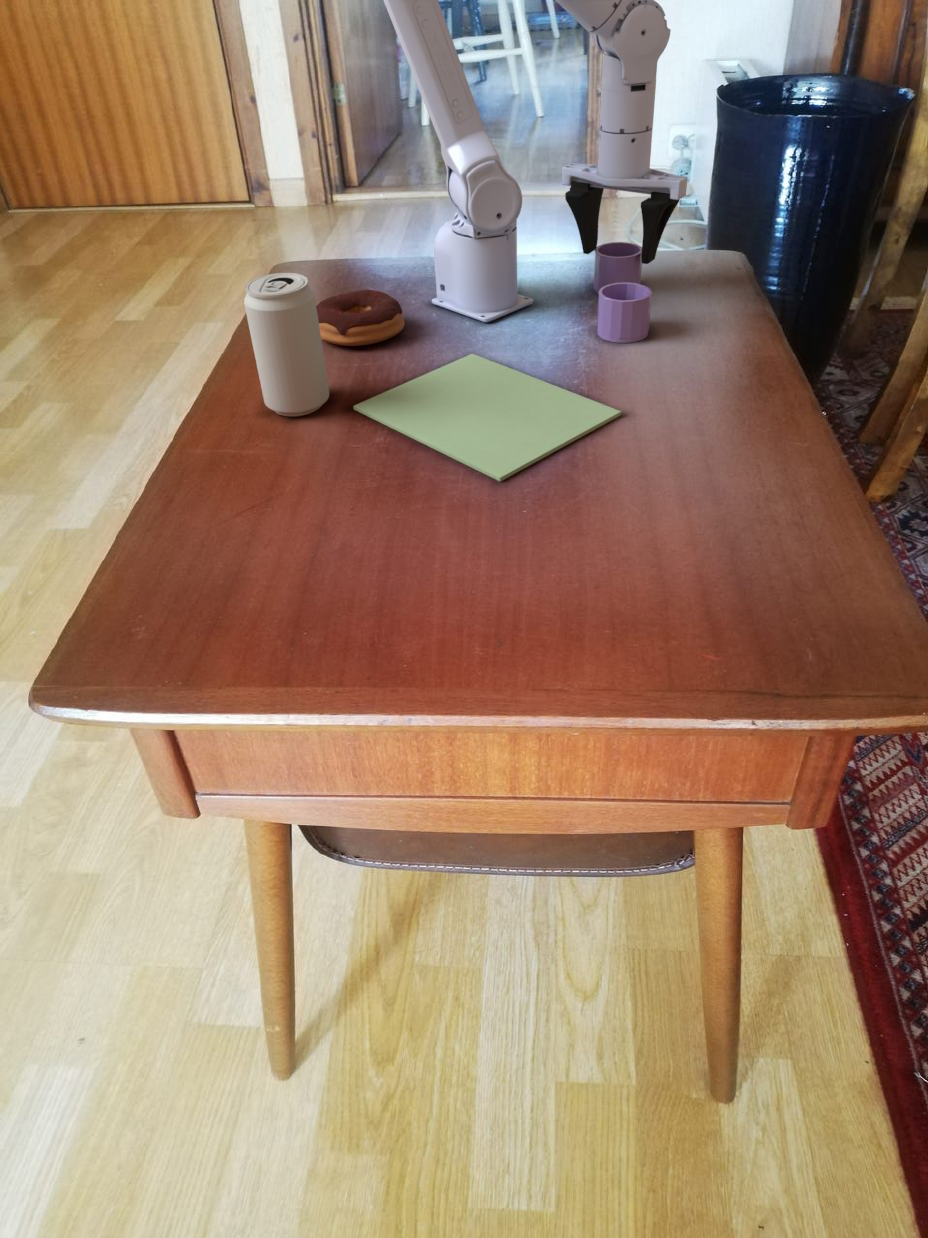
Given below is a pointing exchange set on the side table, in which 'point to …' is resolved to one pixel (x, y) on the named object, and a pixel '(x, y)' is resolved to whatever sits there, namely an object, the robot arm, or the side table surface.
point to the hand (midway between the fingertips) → (618, 256)
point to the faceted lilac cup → (623, 312)
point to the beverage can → (287, 343)
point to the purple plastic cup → (617, 264)
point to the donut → (359, 318)
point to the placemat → (487, 415)
